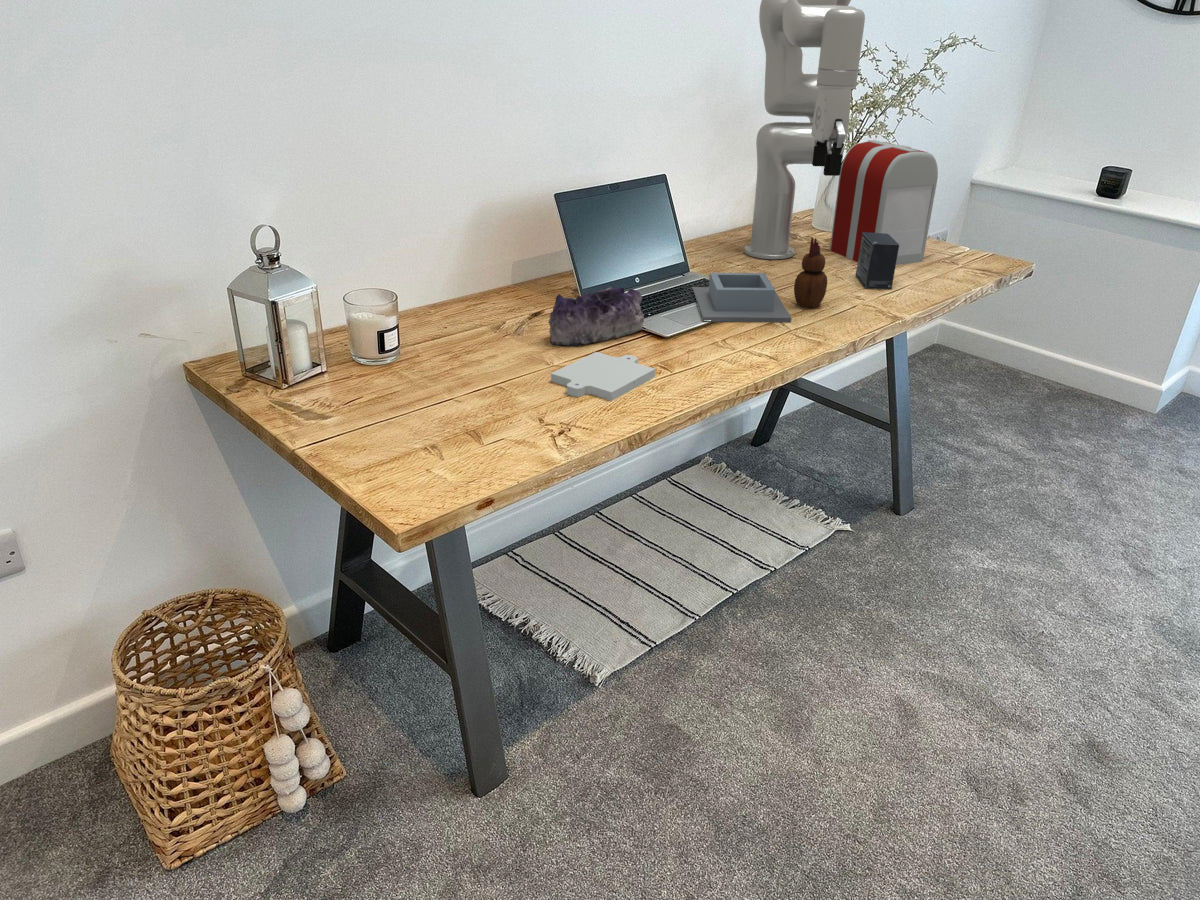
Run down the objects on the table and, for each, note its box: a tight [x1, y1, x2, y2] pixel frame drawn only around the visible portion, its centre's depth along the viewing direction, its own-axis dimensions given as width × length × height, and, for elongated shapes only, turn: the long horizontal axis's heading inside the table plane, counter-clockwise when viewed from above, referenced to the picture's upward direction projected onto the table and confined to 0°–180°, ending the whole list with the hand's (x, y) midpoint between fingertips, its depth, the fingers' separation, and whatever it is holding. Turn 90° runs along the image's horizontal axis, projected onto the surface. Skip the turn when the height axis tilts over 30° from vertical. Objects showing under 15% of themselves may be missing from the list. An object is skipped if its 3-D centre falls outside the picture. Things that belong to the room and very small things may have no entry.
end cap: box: [692, 272, 792, 323], centre depth 196 cm, size 20×18×6 cm
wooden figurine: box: [793, 237, 828, 309], centre depth 195 cm, size 7×6×15 cm
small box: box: [855, 232, 899, 290], centre depth 212 cm, size 11×6×10 cm, turn 179°
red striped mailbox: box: [829, 139, 939, 266], centre depth 229 cm, size 16×18×27 cm
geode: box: [548, 286, 645, 347], centre depth 179 cm, size 20×12×10 cm, turn 130°
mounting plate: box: [550, 351, 656, 402], centre depth 161 cm, size 18×13×2 cm
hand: (825, 170), depth 186 cm, fingers open, 9 cm apart
